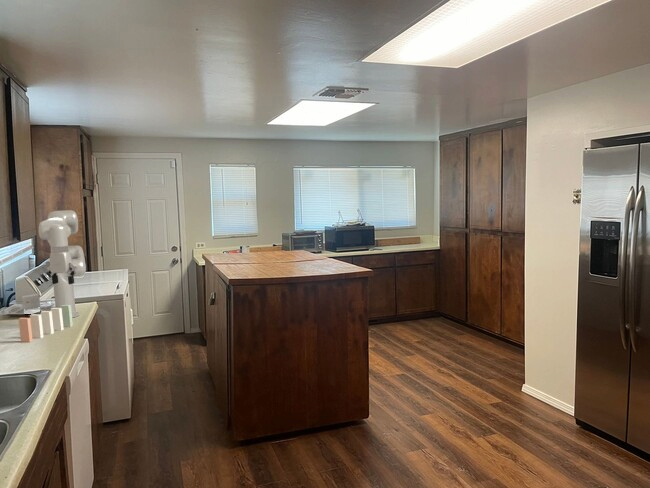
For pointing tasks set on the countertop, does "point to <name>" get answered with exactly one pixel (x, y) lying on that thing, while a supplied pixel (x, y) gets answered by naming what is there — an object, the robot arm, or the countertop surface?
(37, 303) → the small box
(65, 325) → the domino
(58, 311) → the domino
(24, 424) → the countertop surface
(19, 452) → the countertop surface
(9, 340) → the countertop surface
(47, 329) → the domino
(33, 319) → the domino
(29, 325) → the domino
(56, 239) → the robot arm
